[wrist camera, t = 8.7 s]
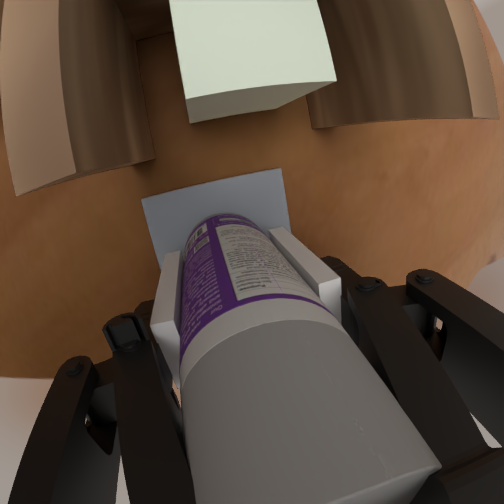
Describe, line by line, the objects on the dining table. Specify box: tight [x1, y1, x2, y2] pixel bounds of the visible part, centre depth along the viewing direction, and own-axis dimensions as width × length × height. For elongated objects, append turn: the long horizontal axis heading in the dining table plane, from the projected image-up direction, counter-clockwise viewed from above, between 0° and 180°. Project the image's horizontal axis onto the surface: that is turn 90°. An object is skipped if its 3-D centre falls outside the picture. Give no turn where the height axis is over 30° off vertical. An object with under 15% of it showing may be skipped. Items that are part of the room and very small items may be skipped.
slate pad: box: [141, 168, 291, 270], centre depth 18 cm, size 8×8×1 cm
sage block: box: [169, 0, 337, 124], centre depth 11 cm, size 5×6×8 cm
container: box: [179, 213, 442, 504], centre depth 10 cm, size 5×5×15 cm
